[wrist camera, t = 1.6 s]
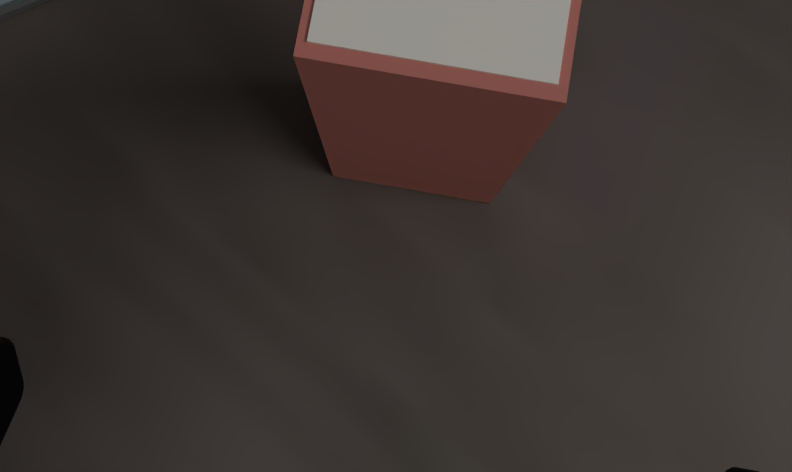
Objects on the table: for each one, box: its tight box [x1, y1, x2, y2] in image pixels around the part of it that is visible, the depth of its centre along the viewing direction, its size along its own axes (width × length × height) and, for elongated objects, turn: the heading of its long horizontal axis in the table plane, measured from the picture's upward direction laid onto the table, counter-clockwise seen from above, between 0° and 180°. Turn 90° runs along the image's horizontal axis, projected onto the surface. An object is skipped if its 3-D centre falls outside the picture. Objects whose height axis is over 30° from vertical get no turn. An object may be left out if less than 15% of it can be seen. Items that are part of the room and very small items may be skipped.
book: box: [293, 0, 581, 203], centre depth 18 cm, size 3×5×10 cm, turn 80°
